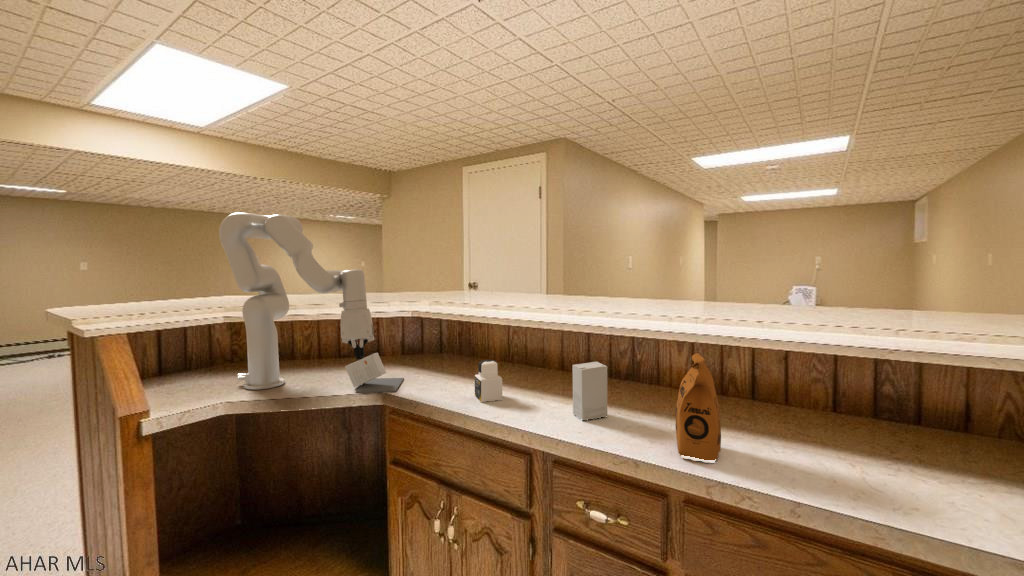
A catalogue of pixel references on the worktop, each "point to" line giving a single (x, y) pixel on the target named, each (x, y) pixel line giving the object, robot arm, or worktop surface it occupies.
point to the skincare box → (590, 390)
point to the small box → (365, 369)
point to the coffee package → (698, 414)
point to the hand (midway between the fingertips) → (359, 358)
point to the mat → (380, 385)
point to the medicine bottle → (488, 382)
